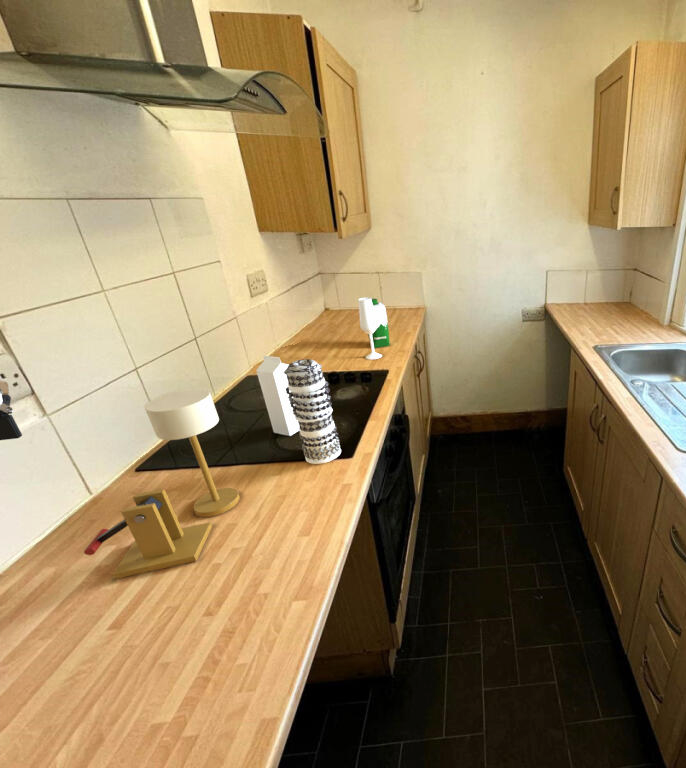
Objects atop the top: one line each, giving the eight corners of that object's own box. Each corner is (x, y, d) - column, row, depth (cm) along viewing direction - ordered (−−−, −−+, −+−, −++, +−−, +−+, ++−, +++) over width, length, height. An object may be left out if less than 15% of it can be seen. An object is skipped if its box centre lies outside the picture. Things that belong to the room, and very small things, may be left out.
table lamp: (181, 525, 83) (133, 415, 73) (198, 494, 92) (158, 392, 81) (238, 514, 86) (200, 406, 76) (249, 485, 94) (216, 385, 84)
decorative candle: (335, 464, 101) (313, 369, 91) (297, 465, 101) (271, 370, 91) (348, 444, 110) (329, 355, 100) (312, 445, 110) (291, 356, 100)
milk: (290, 436, 114) (269, 361, 105) (273, 432, 116) (252, 359, 107) (307, 425, 119) (289, 353, 110) (290, 422, 121) (271, 351, 112)
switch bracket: (115, 579, 71) (85, 525, 66) (139, 541, 79) (114, 491, 74) (196, 561, 75) (174, 509, 70) (212, 526, 82) (193, 478, 78)
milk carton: (387, 340, 192) (381, 297, 183) (392, 346, 184) (386, 301, 176) (367, 343, 188) (360, 299, 180) (372, 349, 180) (365, 303, 172)
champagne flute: (367, 360, 168) (357, 301, 158) (364, 355, 173) (354, 298, 164) (383, 357, 171) (375, 299, 161) (380, 352, 176) (371, 296, 167)
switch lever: (92, 558, 71) (78, 550, 69) (108, 537, 75) (95, 530, 74) (154, 517, 71) (141, 508, 70) (166, 498, 76) (154, 490, 74)
